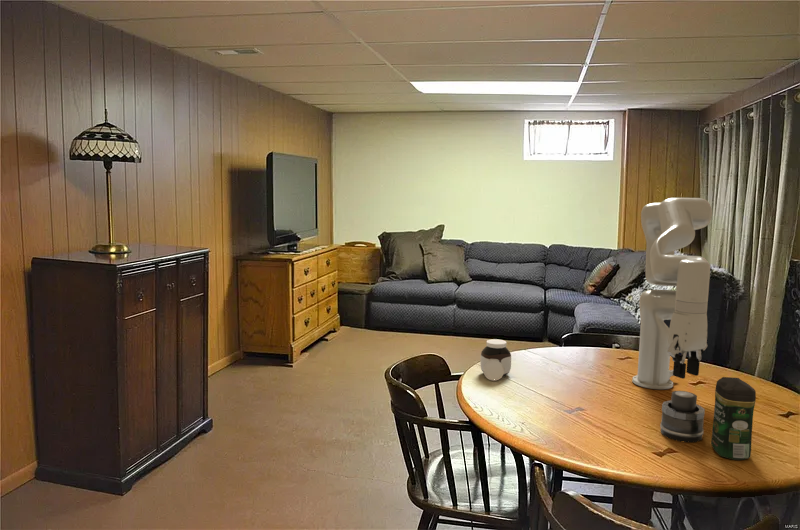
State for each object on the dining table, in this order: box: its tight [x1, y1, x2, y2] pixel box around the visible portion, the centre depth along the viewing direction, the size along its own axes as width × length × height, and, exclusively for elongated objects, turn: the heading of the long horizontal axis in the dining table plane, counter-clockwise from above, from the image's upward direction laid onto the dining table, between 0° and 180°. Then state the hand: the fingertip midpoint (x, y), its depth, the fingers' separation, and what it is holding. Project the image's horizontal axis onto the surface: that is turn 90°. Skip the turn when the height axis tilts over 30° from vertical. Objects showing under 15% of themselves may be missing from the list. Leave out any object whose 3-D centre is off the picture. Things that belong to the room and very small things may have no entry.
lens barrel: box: [659, 400, 706, 443], centre depth 162 cm, size 10×10×8 cm
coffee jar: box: [710, 376, 757, 461], centre depth 151 cm, size 10×8×19 cm
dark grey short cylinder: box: [670, 390, 698, 412], centre depth 162 cm, size 6×6×5 cm
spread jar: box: [479, 338, 512, 382], centre depth 209 cm, size 12×11×12 cm
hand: (685, 374), depth 161 cm, fingers open, 4 cm apart
